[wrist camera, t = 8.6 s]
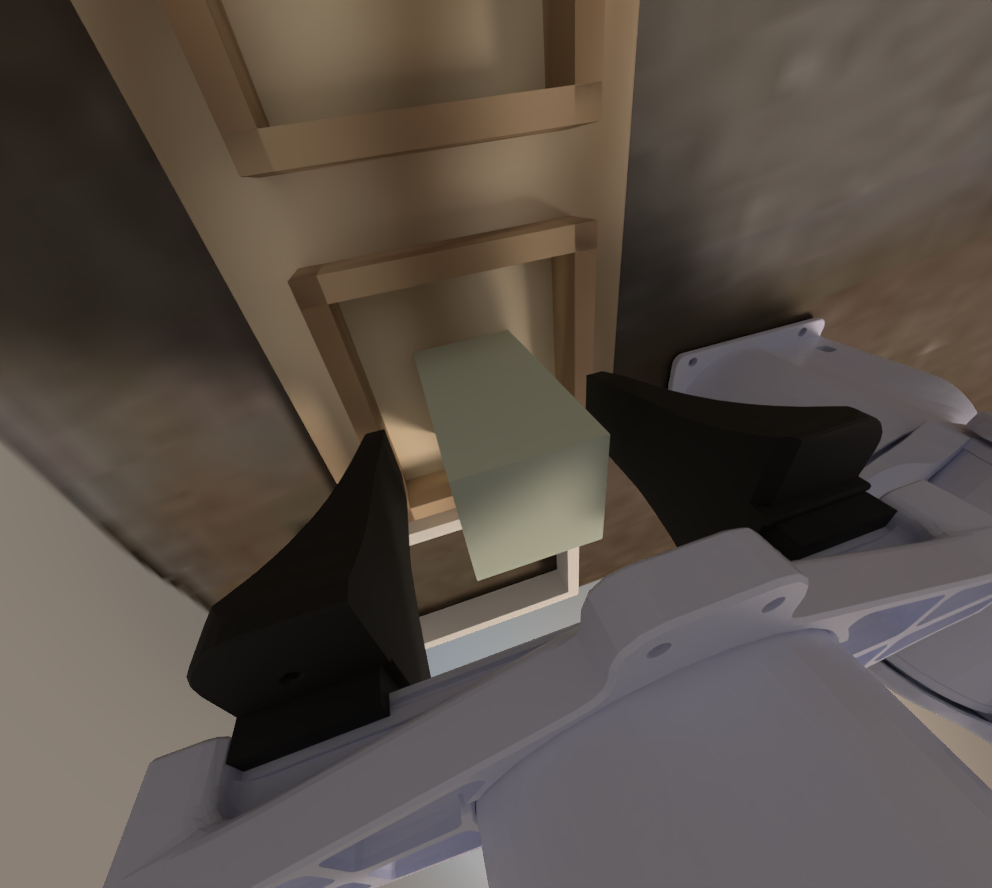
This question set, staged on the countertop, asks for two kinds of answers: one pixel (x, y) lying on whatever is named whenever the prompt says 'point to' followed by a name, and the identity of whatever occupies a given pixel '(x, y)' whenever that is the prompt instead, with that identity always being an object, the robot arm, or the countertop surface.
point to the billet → (514, 452)
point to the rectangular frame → (498, 602)
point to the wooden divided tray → (393, 186)
